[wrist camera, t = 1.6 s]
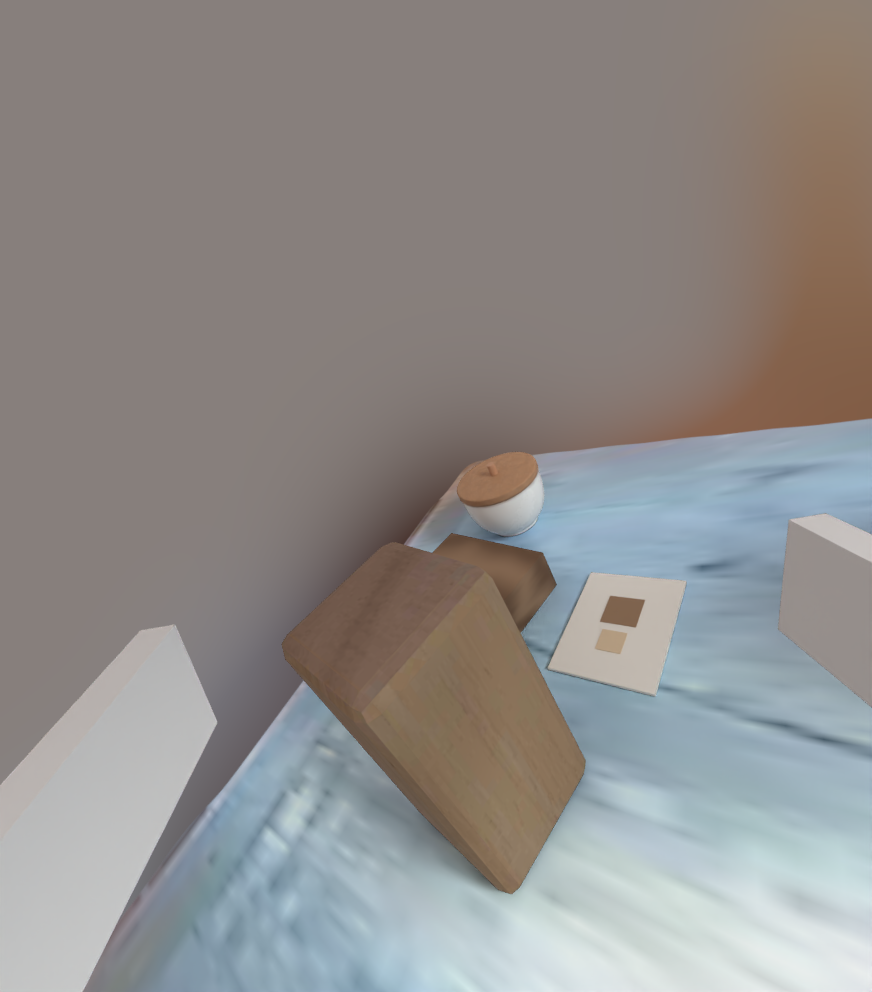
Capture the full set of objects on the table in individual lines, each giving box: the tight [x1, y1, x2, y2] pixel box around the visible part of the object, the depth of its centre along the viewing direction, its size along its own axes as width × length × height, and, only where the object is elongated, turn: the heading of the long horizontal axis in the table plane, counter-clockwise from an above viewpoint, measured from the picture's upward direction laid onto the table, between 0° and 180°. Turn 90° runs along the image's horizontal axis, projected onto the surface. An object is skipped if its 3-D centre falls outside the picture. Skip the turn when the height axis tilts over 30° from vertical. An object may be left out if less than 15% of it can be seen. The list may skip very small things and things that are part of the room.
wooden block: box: [282, 542, 586, 894], centre depth 31 cm, size 10×10×20 cm
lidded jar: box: [457, 452, 544, 537], centre depth 61 cm, size 11×11×9 cm
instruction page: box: [548, 572, 687, 697], centre depth 42 cm, size 12×9×1 cm
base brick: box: [433, 533, 557, 633], centre depth 51 cm, size 14×14×5 cm
